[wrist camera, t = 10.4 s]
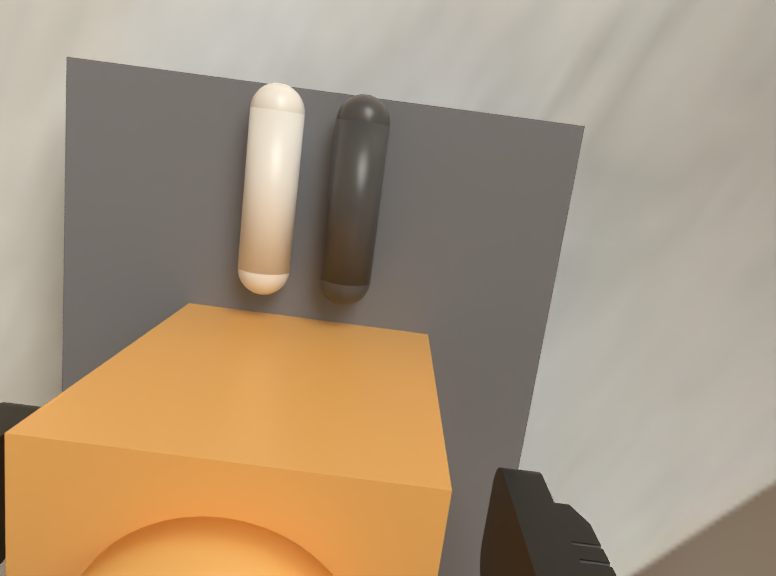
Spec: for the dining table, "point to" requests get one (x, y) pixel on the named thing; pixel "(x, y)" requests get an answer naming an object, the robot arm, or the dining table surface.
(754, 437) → the dining table surface
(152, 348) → the orange domed cube
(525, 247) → the button control panel
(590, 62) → the dining table surface
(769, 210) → the dining table surface
